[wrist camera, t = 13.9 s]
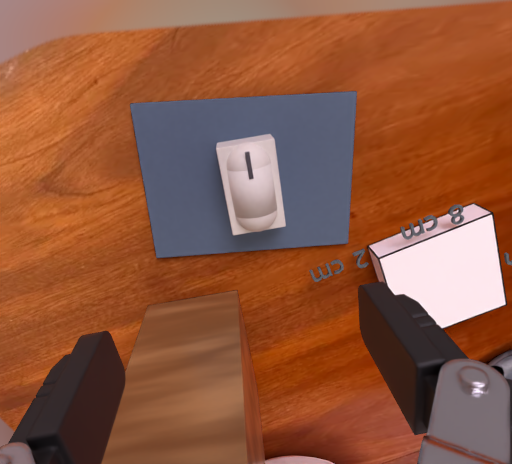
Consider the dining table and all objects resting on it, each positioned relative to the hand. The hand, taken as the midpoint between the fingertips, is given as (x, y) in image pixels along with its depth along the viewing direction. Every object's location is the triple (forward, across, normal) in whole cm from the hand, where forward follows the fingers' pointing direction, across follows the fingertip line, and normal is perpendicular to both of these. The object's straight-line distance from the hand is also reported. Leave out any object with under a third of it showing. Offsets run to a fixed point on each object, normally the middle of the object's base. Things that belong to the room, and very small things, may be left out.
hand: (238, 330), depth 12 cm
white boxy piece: (+18, -2, 0) cm, 18 cm away
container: (+18, -16, +10) cm, 26 cm away
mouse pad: (+18, -2, 0) cm, 18 cm away
